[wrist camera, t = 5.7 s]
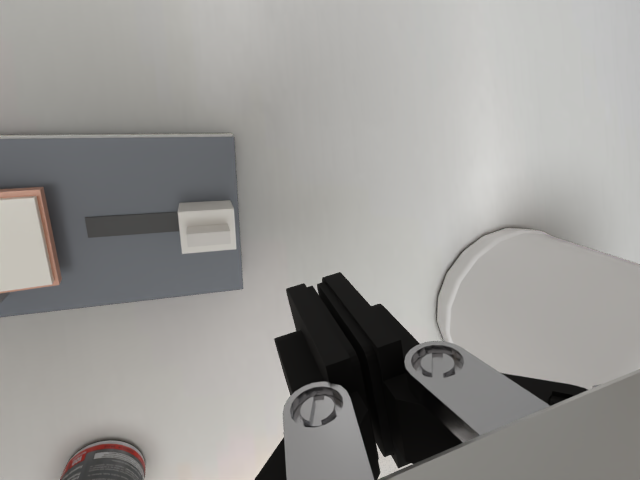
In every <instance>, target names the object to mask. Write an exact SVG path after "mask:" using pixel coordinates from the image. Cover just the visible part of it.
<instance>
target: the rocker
mask: <svg viewBox="0 0 640 480" xmlns="http://www.w3.org/2000/svg"><path fill="white" fill-rule="evenodd" d="M61 279H62V277H61V272H60V267H59V262H58V257H57V252H56V247H55V242H54V237H53V232H52V227H51V222H50V217H49V212H48V207H47V202H46V197H45V192H44V187H31V188H13V189H0V293H7V292H14V291H21V290H28V289H35V288H42V287H49V286H56V285H60V282H61Z"/></svg>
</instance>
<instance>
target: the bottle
mask: <svg viewBox="0 0 640 480" xmlns="http://www.w3.org/2000/svg"><path fill="white" fill-rule="evenodd" d="M437 323H438V326H439V328H440V331H441V334H442V337H443V340H444V341H445V342H449V343H453V344H456V345H458V346H460V347H462V348H463V349H465V350H466V351H468V352H469V353H471V354H473V355H474V356H476V357H477V358H479V359H480V360H482V361H483V362H485V363H486V364H488V365H489V366H491V367H492V368H494V369H495V370H497V371H498V372H500V373H505V374H511V375H517V376H523V377H529V378H535V379H541V380H547V381H553V382H559V383H566V384H571V385H575V386H579V387H583V388H586V389H588V390H590V389H592V386H594V385H600V384H604V383H606V382H609V381H611V380H614V379H616V378H619V377H621V376H624V375H626V374H629V373H631V372H633V371H636V370H638V369H640V264H637V263H634V262H631V261H628V260H625V259H622V258H619V257H616V256H613V255H610V254H607V253H603V252H600V251H597V250H594V249H591V248H588V247H584V246H581V245H578V244H575V243H572V242H569V241H565V240H562V239H559V238H556V237H553V236H550V235H549V234H547V233H545V232H543V231H539V230H532V229H519V228H505V229H502V230H499V231H496V232H493V233H490V234H488V235H485V236H482V237H481V238H480V239H479V240H477V241H476V242H475V243H473V244H472V245H471V246H470V247H468V248H467V249H466V250H464V251H463V252H462V253H461V255H460V256H459V257H458V259H457V260H456V262H455V263H454V264H453V266H452V267H451V268H450V270H449V271H448V272H447V274H446V277H445V280H444V282H443V285H442V288H441V291H440V293H439V296H438V308H437Z"/></svg>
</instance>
